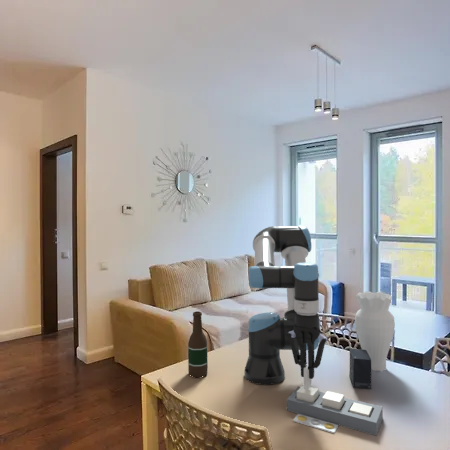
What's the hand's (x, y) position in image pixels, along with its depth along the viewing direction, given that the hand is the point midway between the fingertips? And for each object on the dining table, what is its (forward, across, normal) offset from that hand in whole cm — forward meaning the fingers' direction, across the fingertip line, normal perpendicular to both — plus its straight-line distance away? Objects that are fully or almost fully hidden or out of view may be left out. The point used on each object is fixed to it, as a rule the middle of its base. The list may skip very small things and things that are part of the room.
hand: (307, 387), depth 114 cm
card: (+6, +5, -8) cm, 11 cm away
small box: (+7, +10, +27) cm, 30 cm away
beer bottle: (+6, -45, +3) cm, 46 cm away
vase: (+6, +12, +44) cm, 46 cm away
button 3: (+5, +16, 0) cm, 17 cm away
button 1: (+3, 0, 0) cm, 3 cm away
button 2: (+3, +8, 0) cm, 9 cm away
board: (+6, +8, 0) cm, 10 cm away
